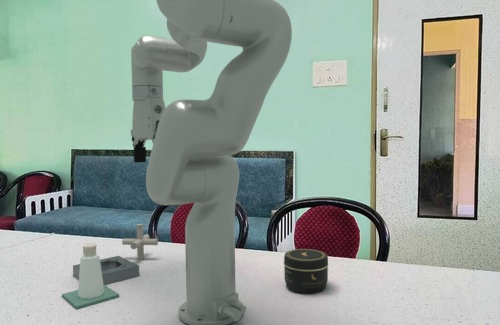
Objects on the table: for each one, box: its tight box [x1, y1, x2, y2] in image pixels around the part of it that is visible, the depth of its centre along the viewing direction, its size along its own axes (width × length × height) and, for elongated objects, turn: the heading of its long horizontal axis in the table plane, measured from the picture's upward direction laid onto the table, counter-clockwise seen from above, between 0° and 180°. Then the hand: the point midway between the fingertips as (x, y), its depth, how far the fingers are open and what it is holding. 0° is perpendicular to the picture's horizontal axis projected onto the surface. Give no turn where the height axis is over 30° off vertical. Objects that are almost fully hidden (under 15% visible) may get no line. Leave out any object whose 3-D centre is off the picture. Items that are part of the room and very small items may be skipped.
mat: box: [61, 284, 120, 310], centre depth 85 cm, size 9×9×1 cm
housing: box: [72, 255, 140, 286], centre depth 98 cm, size 12×12×3 cm
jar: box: [283, 248, 329, 295], centre depth 89 cm, size 10×10×8 cm
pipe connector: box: [121, 223, 159, 261], centre depth 112 cm, size 10×10×10 cm
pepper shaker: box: [77, 242, 104, 299], centre depth 84 cm, size 5×5×11 cm
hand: (149, 162), depth 99 cm, fingers open, 9 cm apart
